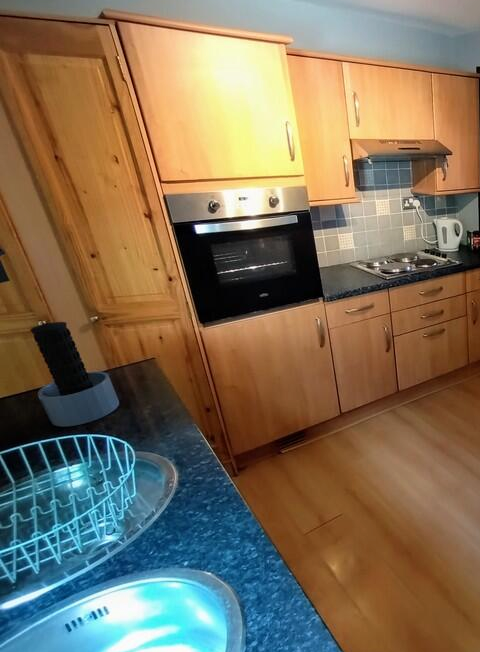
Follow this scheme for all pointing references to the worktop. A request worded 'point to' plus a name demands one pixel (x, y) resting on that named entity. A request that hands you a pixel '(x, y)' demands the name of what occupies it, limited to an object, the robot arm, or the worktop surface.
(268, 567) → the worktop surface
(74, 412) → the blue round bowl
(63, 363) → the handle grip
